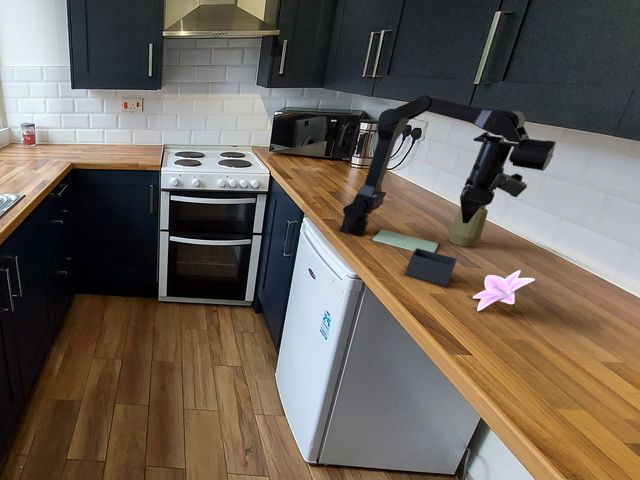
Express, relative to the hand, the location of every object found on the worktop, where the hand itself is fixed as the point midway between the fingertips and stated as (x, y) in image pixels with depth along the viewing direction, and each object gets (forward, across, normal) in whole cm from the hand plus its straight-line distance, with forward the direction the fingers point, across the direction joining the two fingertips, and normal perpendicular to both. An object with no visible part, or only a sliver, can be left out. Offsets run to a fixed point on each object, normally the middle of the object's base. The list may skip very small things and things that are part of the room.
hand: (466, 218), depth 108 cm
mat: (+14, +9, +12) cm, 20 cm away
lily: (+14, -20, -10) cm, 27 cm away
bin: (+14, -14, +3) cm, 20 cm away
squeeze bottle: (+14, +22, -1) cm, 26 cm away
